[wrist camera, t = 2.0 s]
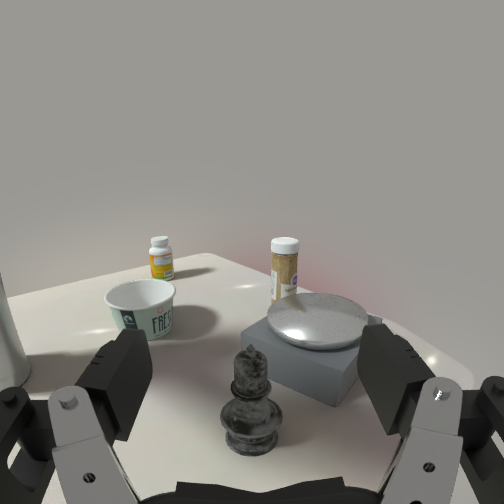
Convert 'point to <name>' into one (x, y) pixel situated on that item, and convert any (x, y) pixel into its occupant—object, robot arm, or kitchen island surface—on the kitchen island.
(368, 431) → the kitchen island surface
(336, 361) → the kitchen scale
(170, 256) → the supplement bottle
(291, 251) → the sprinkles bottle
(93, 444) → the robot arm
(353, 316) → the scale pan
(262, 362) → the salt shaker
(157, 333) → the food container
